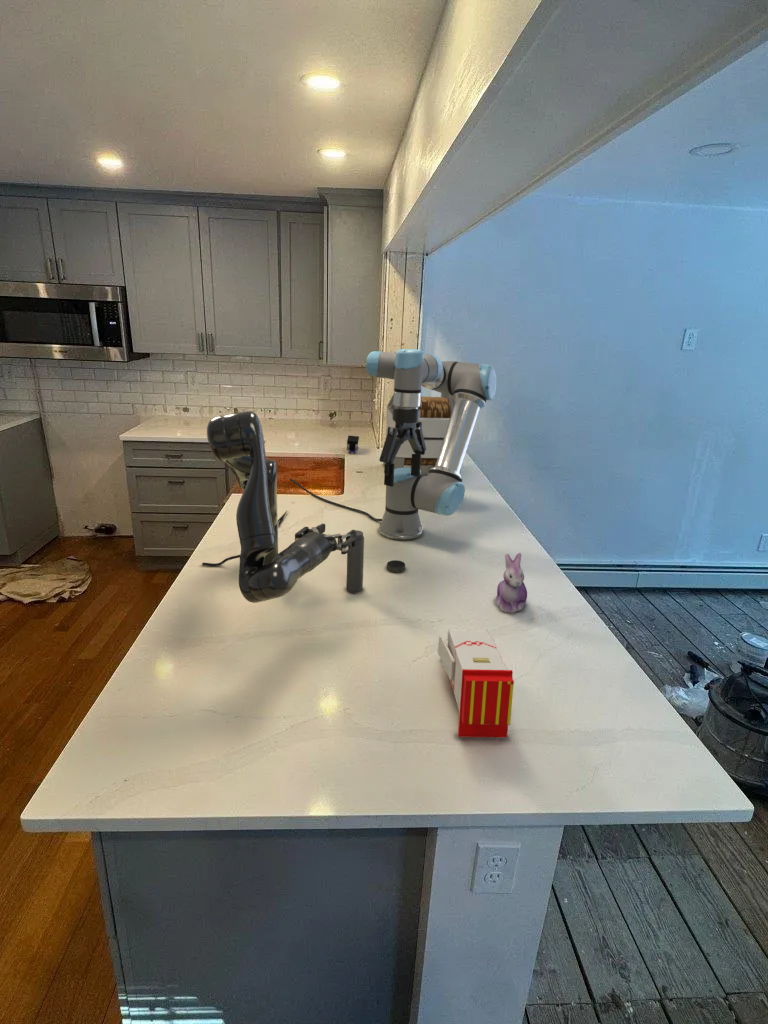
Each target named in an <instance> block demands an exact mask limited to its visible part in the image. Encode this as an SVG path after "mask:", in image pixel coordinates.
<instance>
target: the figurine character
mask: <svg viewBox="0 0 768 1024" xmlns="http://www.w3.org/2000/svg"><path fill="white" fill-rule="evenodd" d="M359 441H360V436H358V435H348V436H347V439H346V451H348V454H351V453H353V454H354V455H355V454H356V452H357V451H358V450H359V449H360V447H359Z"/></svg>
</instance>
